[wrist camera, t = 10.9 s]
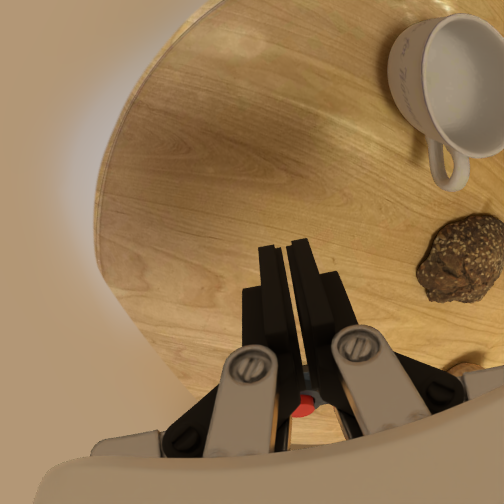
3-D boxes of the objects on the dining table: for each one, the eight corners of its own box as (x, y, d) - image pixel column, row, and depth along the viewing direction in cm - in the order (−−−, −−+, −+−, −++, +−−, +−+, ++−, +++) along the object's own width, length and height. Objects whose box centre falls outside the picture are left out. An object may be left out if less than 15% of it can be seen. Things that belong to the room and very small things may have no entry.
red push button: (286, 409, 41) (287, 419, 40) (283, 396, 39) (284, 406, 38) (313, 405, 41) (315, 415, 40) (312, 391, 39) (314, 402, 38)
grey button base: (268, 406, 45) (269, 422, 43) (256, 372, 40) (257, 390, 38) (330, 396, 45) (333, 412, 42) (330, 360, 39) (334, 378, 37)
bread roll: (509, 216, 28) (533, 237, 24) (476, 296, 35) (493, 320, 30) (435, 206, 28) (460, 230, 23) (403, 301, 34) (418, 330, 30)
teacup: (390, 1, 17) (440, -16, 11) (481, 57, 19) (538, 66, 12) (347, 142, 24) (384, 171, 18) (441, 179, 26) (489, 216, 19)
